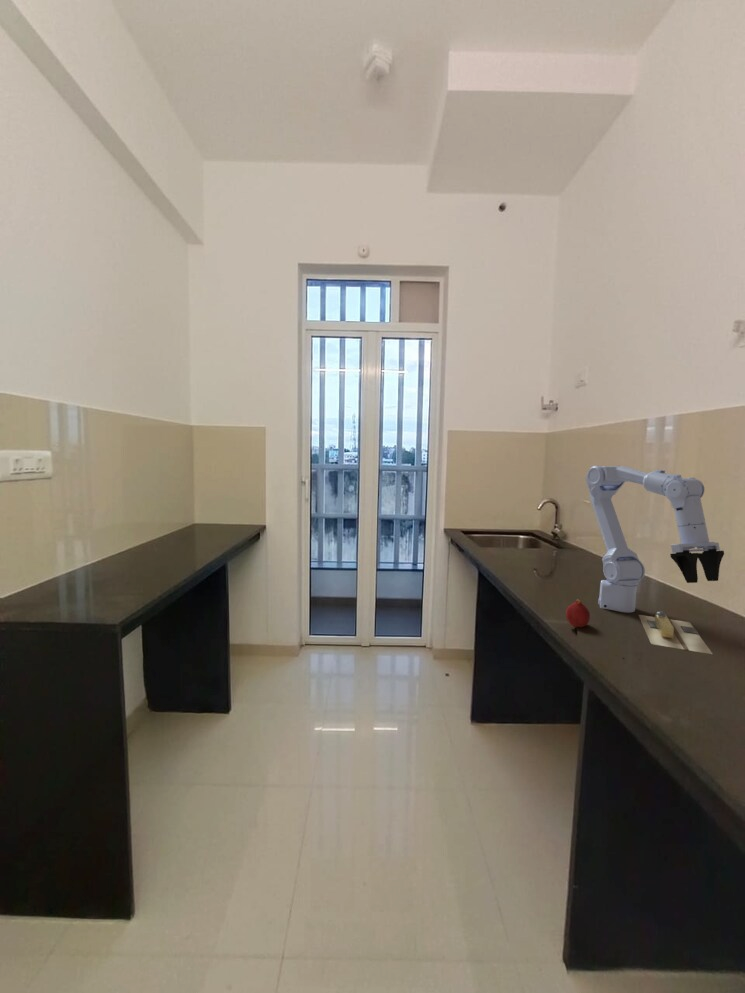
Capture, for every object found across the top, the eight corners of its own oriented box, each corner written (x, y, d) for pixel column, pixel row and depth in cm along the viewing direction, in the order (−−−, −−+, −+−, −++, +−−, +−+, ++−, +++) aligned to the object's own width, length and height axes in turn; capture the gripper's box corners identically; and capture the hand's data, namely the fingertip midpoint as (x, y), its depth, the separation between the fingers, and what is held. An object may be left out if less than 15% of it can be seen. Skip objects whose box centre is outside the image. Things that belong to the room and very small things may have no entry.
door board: (650, 648, 104) (651, 642, 104) (638, 618, 123) (638, 613, 123) (712, 659, 99) (713, 653, 99) (689, 626, 118) (689, 621, 118)
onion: (569, 622, 119) (571, 594, 118) (592, 629, 115) (594, 599, 114) (561, 628, 115) (563, 599, 114) (583, 635, 111) (586, 605, 110)
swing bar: (653, 622, 116) (655, 610, 116) (664, 624, 115) (665, 611, 115) (661, 636, 107) (662, 623, 107) (672, 638, 106) (674, 625, 106)
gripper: (688, 523, 101) (700, 583, 98) (728, 523, 106) (740, 579, 104) (659, 527, 107) (669, 583, 105) (697, 527, 113) (708, 580, 110)
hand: (702, 581), depth 105 cm, fingers open, 7 cm apart
